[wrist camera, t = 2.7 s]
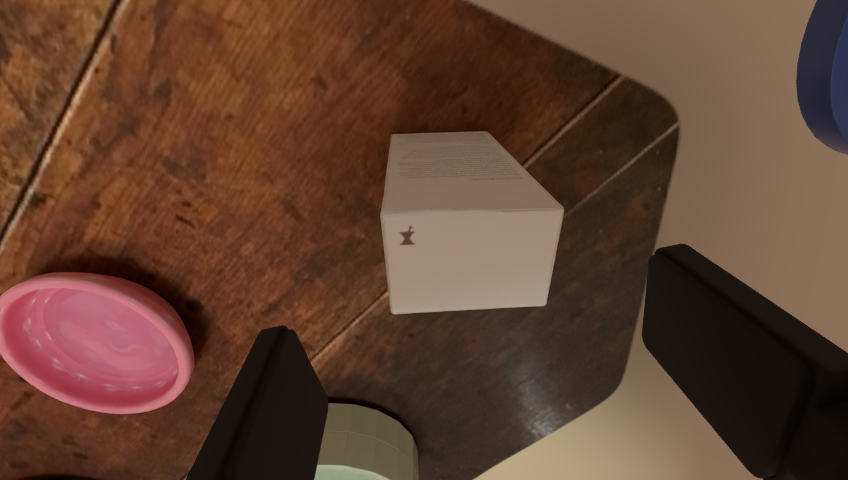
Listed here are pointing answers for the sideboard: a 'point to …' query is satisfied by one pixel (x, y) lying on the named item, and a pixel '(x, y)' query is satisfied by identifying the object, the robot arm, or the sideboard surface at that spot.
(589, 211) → the sideboard surface
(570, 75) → the sideboard surface
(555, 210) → the cosmetic box
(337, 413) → the bowl
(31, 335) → the saucer
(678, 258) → the robot arm
